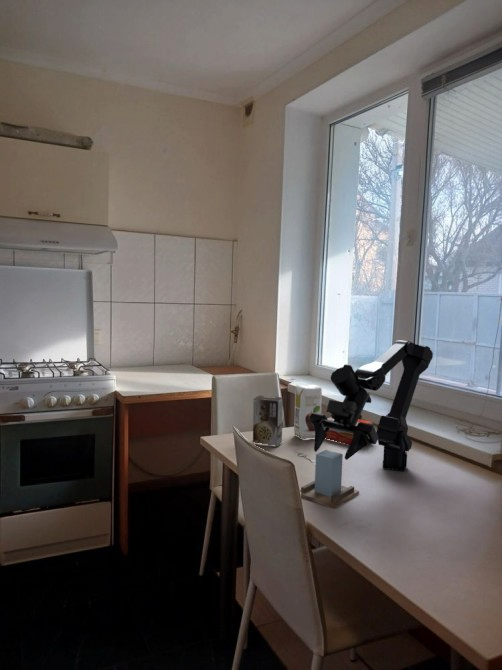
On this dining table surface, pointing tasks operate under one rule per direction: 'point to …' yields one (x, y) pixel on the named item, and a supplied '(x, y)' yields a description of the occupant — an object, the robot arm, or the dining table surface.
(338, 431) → the medicine box
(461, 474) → the dining table surface
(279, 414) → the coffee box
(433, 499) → the dining table surface
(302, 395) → the juice carton
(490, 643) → the dining table surface
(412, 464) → the dining table surface
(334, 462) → the slate-blue block
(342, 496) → the walnut groove board
